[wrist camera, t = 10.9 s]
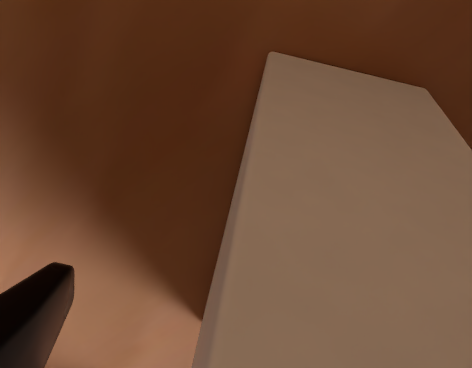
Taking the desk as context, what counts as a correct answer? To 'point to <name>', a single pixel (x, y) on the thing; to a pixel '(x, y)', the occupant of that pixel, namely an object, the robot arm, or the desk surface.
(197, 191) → the desk surface
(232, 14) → the desk surface
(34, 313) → the robot arm
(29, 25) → the desk surface
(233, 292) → the plain white rectangular box
